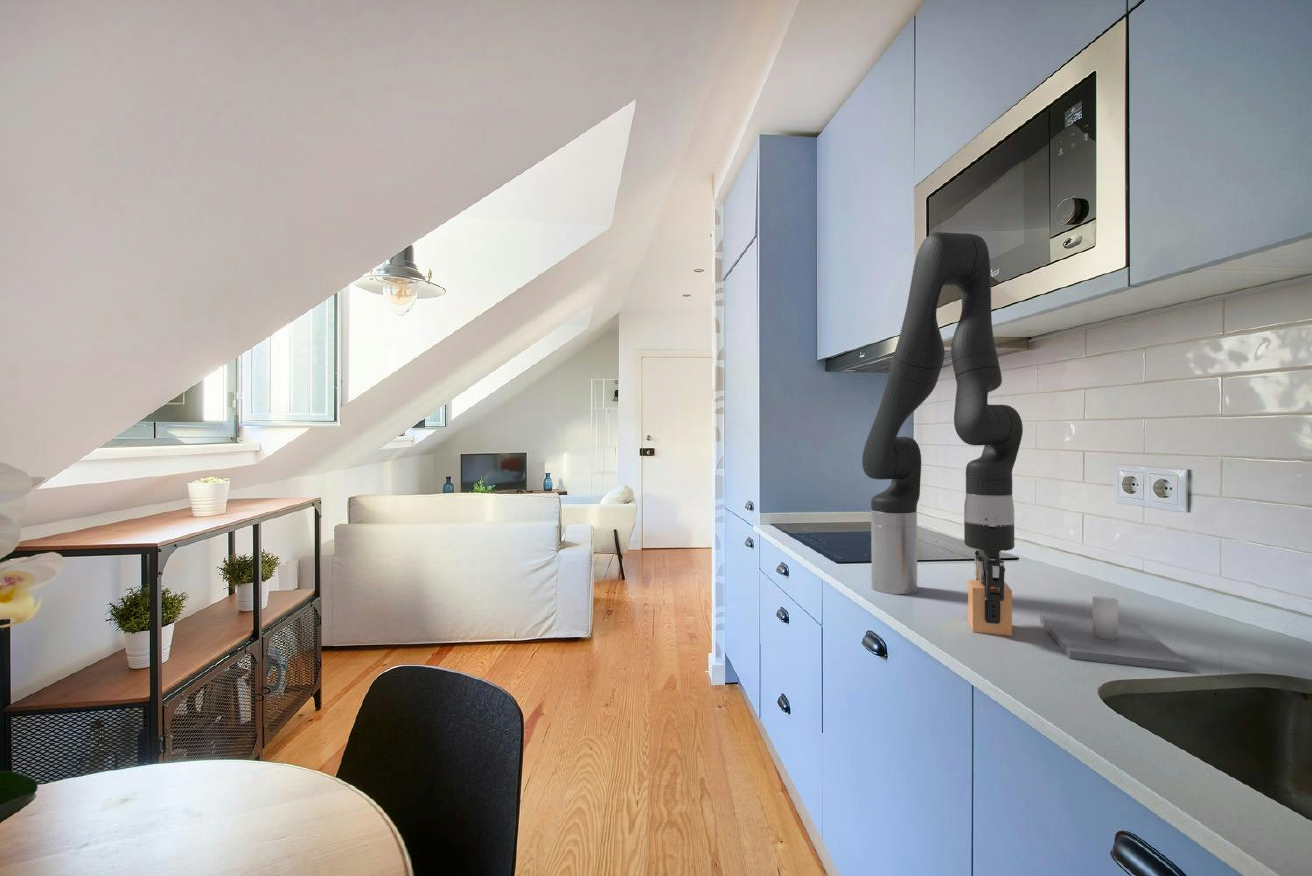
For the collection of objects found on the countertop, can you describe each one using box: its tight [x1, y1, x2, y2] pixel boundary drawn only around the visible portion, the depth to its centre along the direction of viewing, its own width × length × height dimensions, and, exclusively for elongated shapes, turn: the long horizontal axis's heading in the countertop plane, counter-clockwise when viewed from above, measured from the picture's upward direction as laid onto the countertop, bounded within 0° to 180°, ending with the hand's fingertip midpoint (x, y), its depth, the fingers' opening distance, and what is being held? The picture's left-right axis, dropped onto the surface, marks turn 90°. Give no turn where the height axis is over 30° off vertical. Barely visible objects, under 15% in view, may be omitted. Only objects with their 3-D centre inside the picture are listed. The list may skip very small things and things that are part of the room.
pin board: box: [1039, 595, 1189, 673], centre depth 93 cm, size 18×14×7 cm
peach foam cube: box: [967, 579, 1013, 637], centre depth 101 cm, size 6×6×8 cm
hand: (989, 616), depth 101 cm, fingers closed on peach foam cube, 5 cm apart
